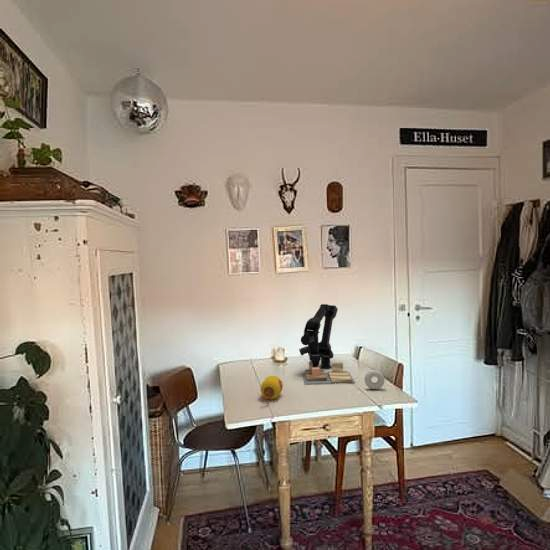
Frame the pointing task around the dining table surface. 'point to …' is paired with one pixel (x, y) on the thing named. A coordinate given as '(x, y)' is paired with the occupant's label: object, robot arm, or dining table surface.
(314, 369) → the block
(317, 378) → the darker brown strip
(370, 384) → the donut
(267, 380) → the yellow piece
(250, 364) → the dining table surface
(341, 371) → the tan piece
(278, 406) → the dining table surface
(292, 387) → the dining table surface
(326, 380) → the lane mat
